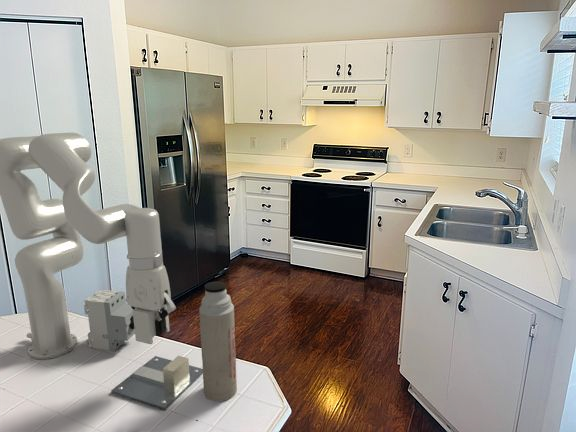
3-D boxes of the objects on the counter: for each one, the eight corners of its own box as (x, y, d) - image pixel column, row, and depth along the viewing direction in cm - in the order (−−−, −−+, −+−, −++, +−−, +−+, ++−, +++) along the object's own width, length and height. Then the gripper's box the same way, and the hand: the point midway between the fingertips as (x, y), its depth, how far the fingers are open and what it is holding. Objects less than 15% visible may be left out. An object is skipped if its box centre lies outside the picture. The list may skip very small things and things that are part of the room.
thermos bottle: (242, 384, 106) (239, 280, 99) (227, 405, 98) (222, 294, 91) (214, 378, 108) (209, 276, 101) (197, 397, 101) (190, 289, 94)
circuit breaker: (134, 353, 119) (129, 304, 116) (89, 348, 122) (83, 300, 118) (147, 339, 126) (143, 293, 123) (105, 334, 129) (99, 289, 125)
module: (135, 340, 101) (132, 306, 99) (155, 327, 108) (152, 294, 105) (150, 344, 100) (147, 309, 98) (169, 330, 106) (166, 297, 104)
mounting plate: (111, 393, 102) (108, 368, 101) (155, 358, 117) (153, 336, 115) (164, 410, 96) (162, 384, 95) (204, 371, 111) (203, 348, 109)
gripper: (106, 261, 99) (114, 332, 103) (164, 271, 92) (171, 345, 97) (129, 252, 106) (136, 318, 110) (185, 260, 99) (190, 330, 104)
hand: (152, 330), depth 103 cm, fingers closed on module, 4 cm apart
